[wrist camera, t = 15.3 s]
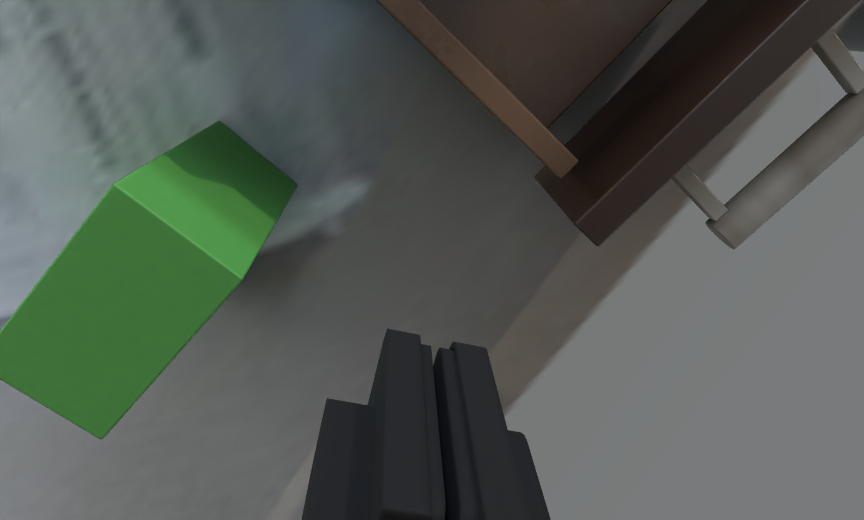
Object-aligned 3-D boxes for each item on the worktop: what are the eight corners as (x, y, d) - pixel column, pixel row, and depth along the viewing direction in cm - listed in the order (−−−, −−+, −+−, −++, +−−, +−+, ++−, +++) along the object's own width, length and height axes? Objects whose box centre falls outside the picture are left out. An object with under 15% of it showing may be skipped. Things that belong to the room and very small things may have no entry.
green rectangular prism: (298, 184, 26) (243, 279, 17) (200, 297, 28) (101, 441, 18) (219, 119, 25) (113, 182, 16) (121, 242, 26) (-27, 365, 17)
